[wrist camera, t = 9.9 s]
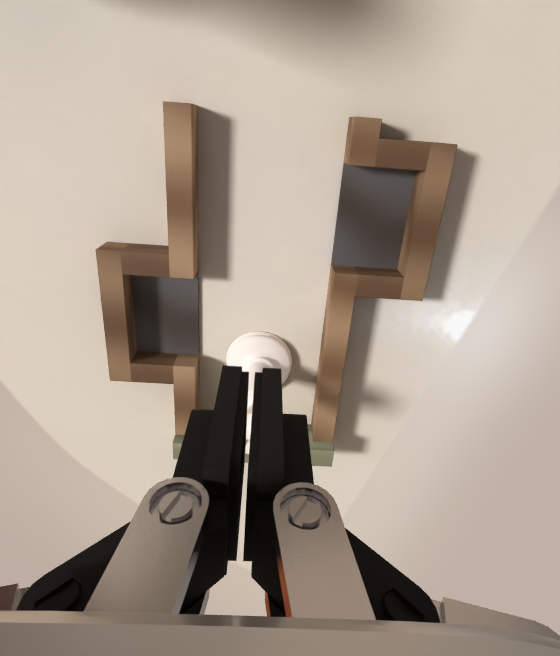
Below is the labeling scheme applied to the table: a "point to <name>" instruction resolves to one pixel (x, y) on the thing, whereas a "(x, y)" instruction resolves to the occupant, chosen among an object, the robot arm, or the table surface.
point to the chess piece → (258, 362)
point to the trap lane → (345, 275)
